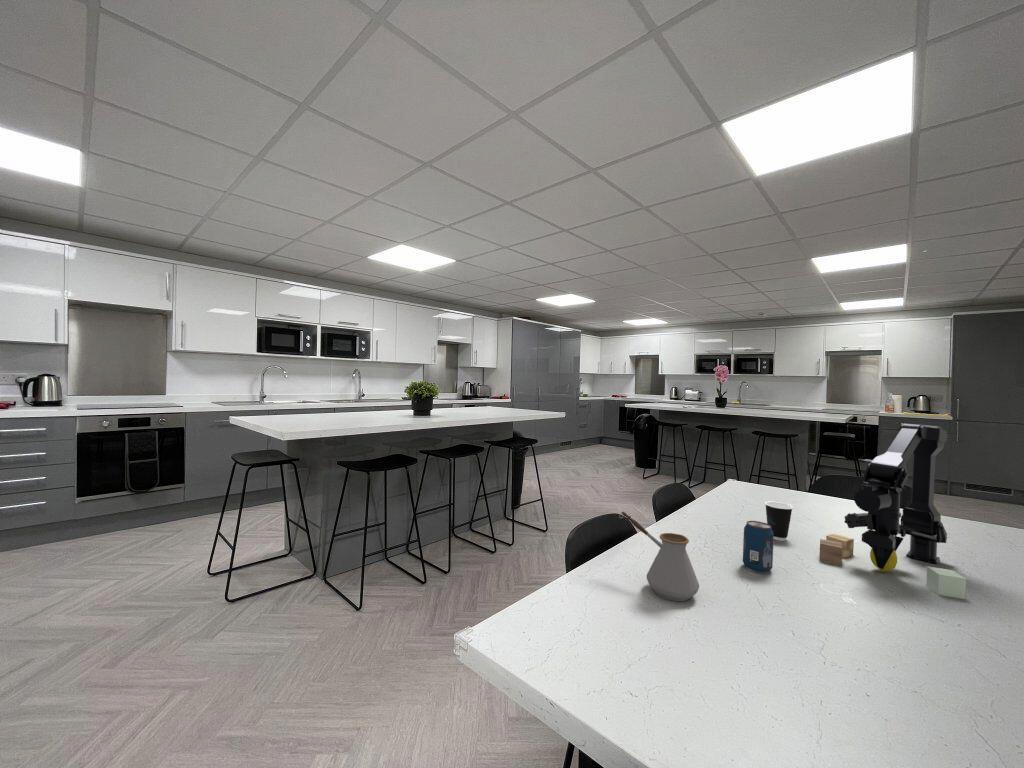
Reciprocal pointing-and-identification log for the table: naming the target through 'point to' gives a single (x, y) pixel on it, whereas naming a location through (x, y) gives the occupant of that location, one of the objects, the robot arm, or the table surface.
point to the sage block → (946, 582)
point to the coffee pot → (670, 566)
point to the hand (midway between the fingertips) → (883, 565)
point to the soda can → (758, 546)
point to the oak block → (843, 543)
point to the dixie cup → (778, 519)
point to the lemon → (890, 563)
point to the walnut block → (831, 552)
